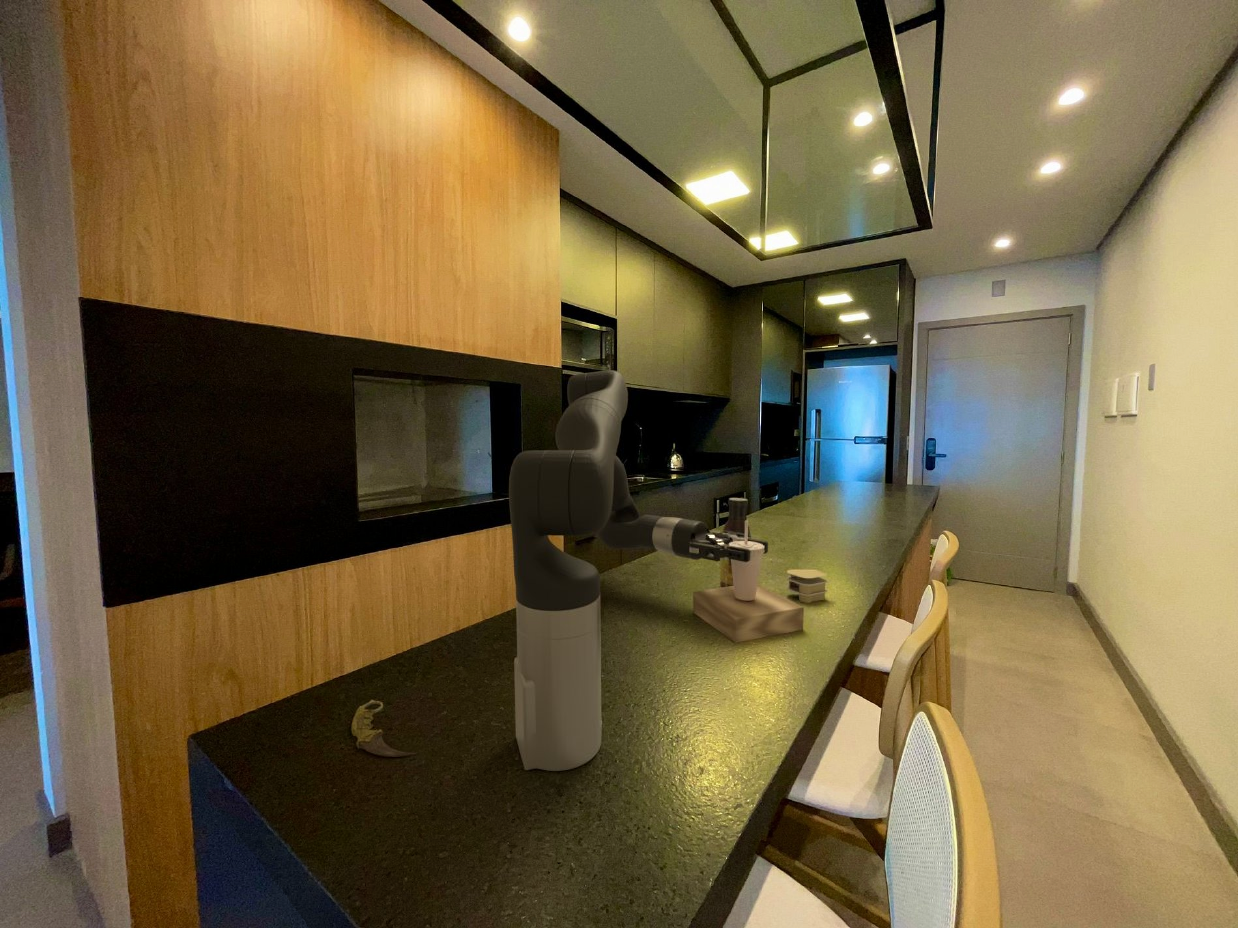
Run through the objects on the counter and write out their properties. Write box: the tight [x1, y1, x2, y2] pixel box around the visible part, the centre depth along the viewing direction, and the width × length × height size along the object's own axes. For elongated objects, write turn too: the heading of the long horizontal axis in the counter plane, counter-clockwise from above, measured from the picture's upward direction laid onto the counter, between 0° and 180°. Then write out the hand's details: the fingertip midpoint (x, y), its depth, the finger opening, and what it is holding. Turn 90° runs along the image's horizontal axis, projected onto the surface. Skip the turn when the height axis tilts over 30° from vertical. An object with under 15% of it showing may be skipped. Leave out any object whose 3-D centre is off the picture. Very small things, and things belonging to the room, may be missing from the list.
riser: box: [692, 584, 805, 644], centre depth 88 cm, size 14×14×4 cm
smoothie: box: [729, 520, 765, 601], centre depth 87 cm, size 6×6×14 cm
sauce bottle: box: [719, 497, 751, 588], centre depth 104 cm, size 6×6×20 cm
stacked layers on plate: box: [786, 569, 828, 604], centre depth 100 cm, size 10×9×6 cm
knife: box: [351, 699, 423, 758], centre depth 57 cm, size 14×1×5 cm
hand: (758, 551), depth 86 cm, fingers open, 6 cm apart
